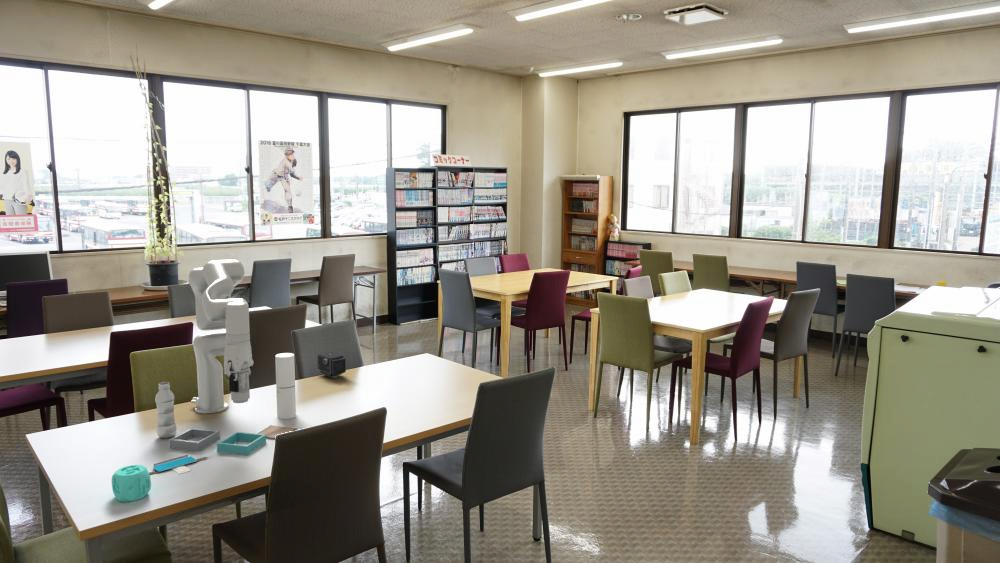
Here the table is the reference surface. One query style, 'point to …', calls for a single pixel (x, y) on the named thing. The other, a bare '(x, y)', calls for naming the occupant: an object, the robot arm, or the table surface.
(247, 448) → the teal flat square frame
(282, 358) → the cylindrical container
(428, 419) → the table surface
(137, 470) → the decorative dice
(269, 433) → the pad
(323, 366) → the camera
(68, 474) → the table surface
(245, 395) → the energy drink can
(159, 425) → the plastic bottle
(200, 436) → the grey crate
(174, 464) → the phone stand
